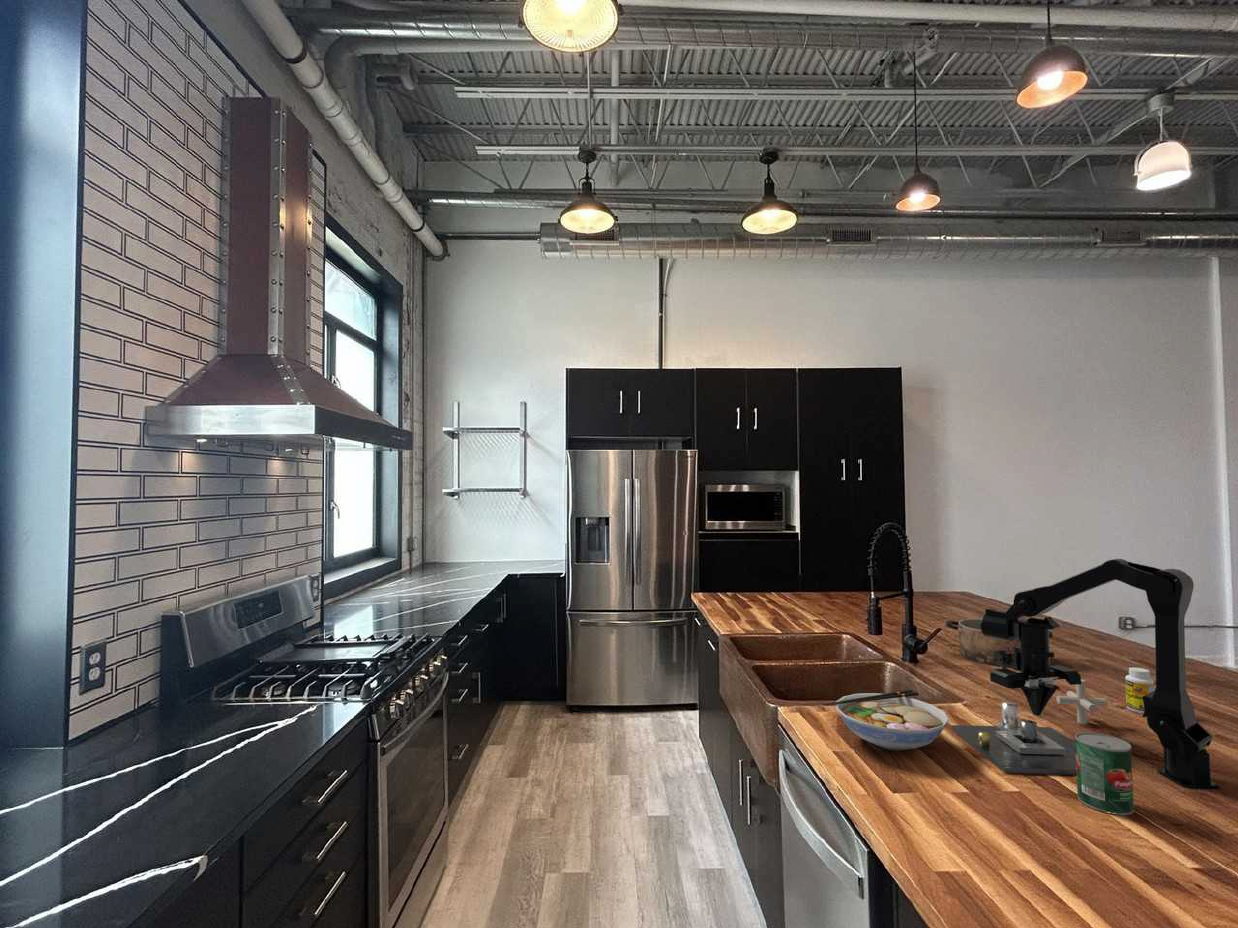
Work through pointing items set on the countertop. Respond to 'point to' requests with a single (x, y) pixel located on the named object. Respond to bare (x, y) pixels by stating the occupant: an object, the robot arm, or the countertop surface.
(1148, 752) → the countertop surface
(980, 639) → the cooking pot
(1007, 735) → the metal knob latch
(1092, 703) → the pipe connector
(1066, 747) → the post base
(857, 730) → the ramen bowl
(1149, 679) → the supplement bottle
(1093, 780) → the canned tomato
